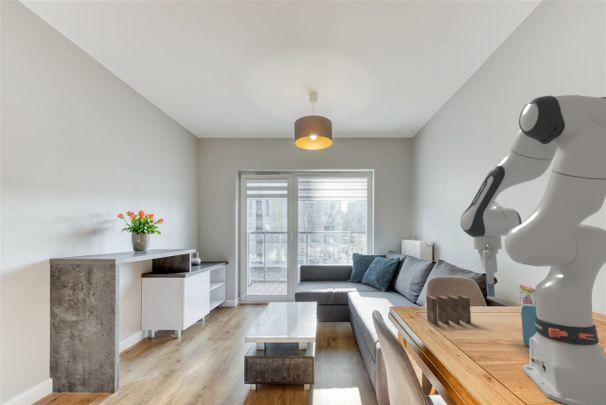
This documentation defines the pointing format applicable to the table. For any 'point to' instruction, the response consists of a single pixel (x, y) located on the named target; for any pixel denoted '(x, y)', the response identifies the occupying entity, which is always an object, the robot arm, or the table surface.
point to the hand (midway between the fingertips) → (490, 282)
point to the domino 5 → (490, 288)
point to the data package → (528, 323)
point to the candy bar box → (527, 295)
